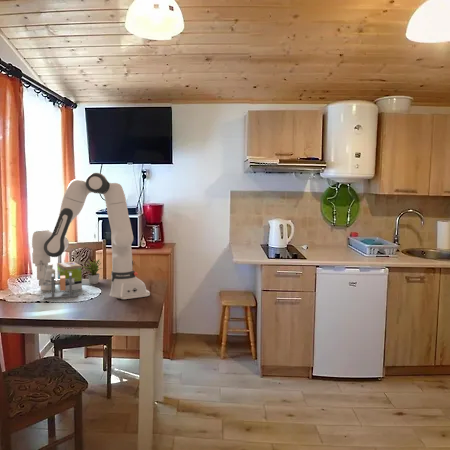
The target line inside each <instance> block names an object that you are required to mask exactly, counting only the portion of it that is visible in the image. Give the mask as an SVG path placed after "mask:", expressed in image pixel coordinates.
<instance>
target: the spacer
mask: <svg viewBox="0 0 450 450" xmlns="http://www.w3.org/2000/svg"><path fill="white" fill-rule="evenodd" d="M65 288H66V286H65V276H60V286H59V290H60V291H59V292H63V291H64V290H65Z"/></svg>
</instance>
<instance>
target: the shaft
mask: <svg viewBox="0 0 450 450" xmlns="http://www.w3.org/2000/svg"><path fill="white" fill-rule="evenodd" d="M65 284H69V279H65ZM72 284H74V278H72ZM46 285H52V282H51V280H44V285H43V286H46ZM54 285H55V286H58V285H60V279H58V278H55V279H54ZM38 286H39V287H41V286H40V281H39V280H38Z"/></svg>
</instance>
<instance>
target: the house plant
mask: <svg viewBox="0 0 450 450" xmlns="http://www.w3.org/2000/svg"><path fill="white" fill-rule="evenodd" d="M88 262H89V263H87V262H84V264H86V265H87V266H82V265H81V268H83V272H85V271H88V272H89V273H87V278H88V283H89V284H90V285H94V284H95V285H96V284H99V279H100V273H98V272H99V270H101V269H102V270H103V269H104V267H103V268H100V267H99V266H101V264H102V262H101V258H99V259H97V260H96V259H95V258H94V259H93V261H91V260H90V259H88Z"/></svg>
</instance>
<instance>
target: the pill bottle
mask: <svg viewBox="0 0 450 450" xmlns="http://www.w3.org/2000/svg"><path fill="white" fill-rule="evenodd" d="M53 267H54V264H53V263H48V266H47V271H46V275H45V279H44V280H51V276H52V274H54V279H56V270H55V268H53ZM40 290H41V291H52V285H46V286H40Z"/></svg>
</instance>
